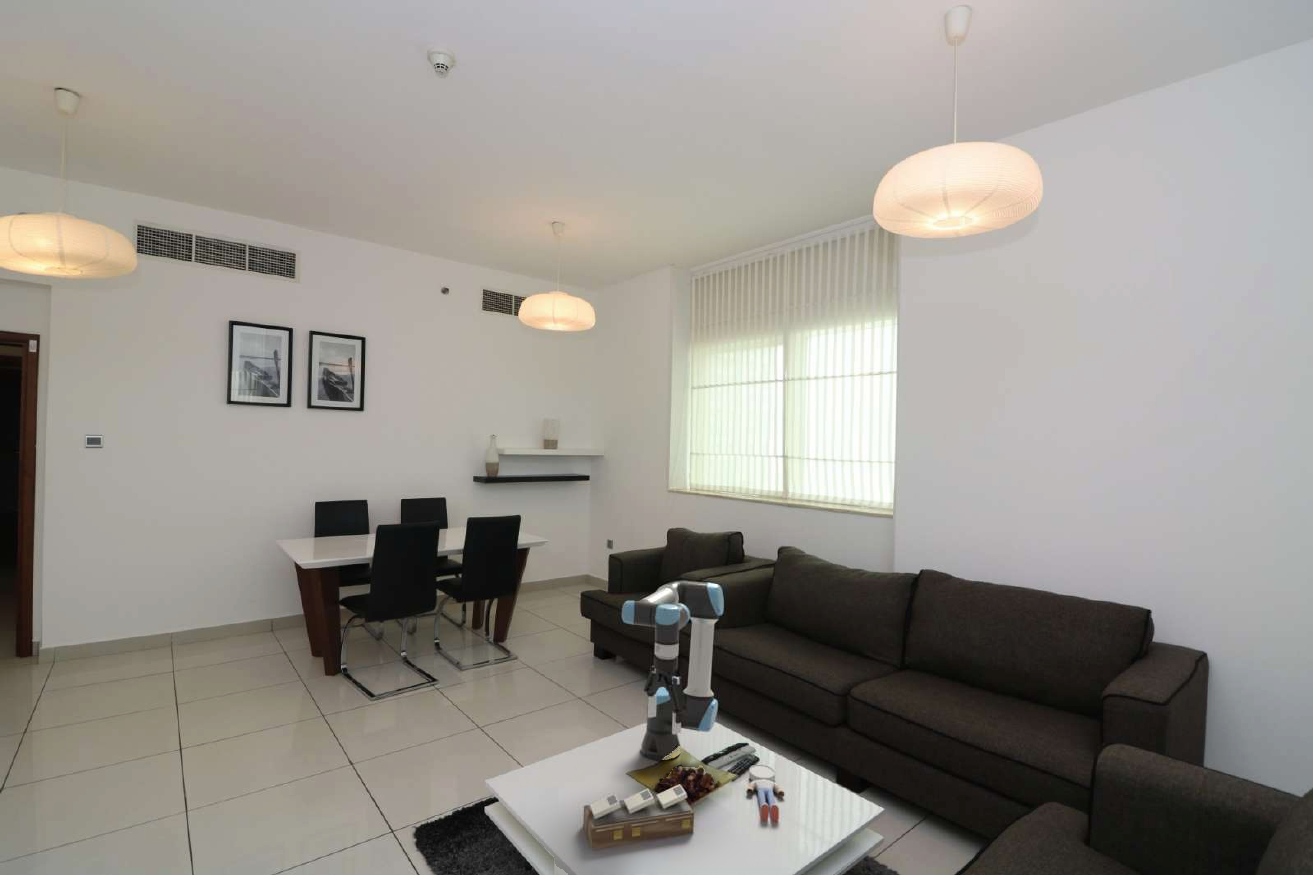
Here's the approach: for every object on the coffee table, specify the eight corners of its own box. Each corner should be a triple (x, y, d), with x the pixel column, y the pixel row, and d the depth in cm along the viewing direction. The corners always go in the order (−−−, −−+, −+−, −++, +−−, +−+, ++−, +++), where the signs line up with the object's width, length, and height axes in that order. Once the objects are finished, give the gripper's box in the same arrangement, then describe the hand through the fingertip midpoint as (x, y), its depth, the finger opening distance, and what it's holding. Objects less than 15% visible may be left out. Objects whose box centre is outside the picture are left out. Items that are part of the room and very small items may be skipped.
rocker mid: (624, 804, 188) (623, 799, 188) (649, 792, 190) (647, 788, 190) (629, 814, 182) (628, 809, 182) (654, 802, 185) (653, 797, 185)
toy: (790, 806, 193) (779, 758, 223) (749, 803, 194) (743, 755, 224) (789, 824, 193) (778, 774, 223) (749, 821, 194) (743, 771, 224)
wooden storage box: (583, 826, 187) (584, 801, 187) (679, 811, 196) (680, 788, 197) (592, 850, 175) (593, 824, 175) (693, 833, 185) (694, 809, 185)
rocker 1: (590, 808, 184) (589, 804, 184) (615, 797, 187) (614, 792, 187) (595, 819, 179) (593, 814, 179) (620, 807, 181) (619, 802, 181)
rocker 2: (657, 799, 191) (656, 794, 191) (680, 788, 193) (679, 783, 193) (663, 809, 186) (662, 804, 186) (687, 797, 188) (686, 793, 188)
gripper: (635, 646, 202) (632, 712, 202) (679, 669, 182) (677, 743, 181) (654, 643, 207) (651, 708, 206) (699, 665, 186) (697, 737, 185)
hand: (663, 724), depth 193 cm, fingers open, 13 cm apart
